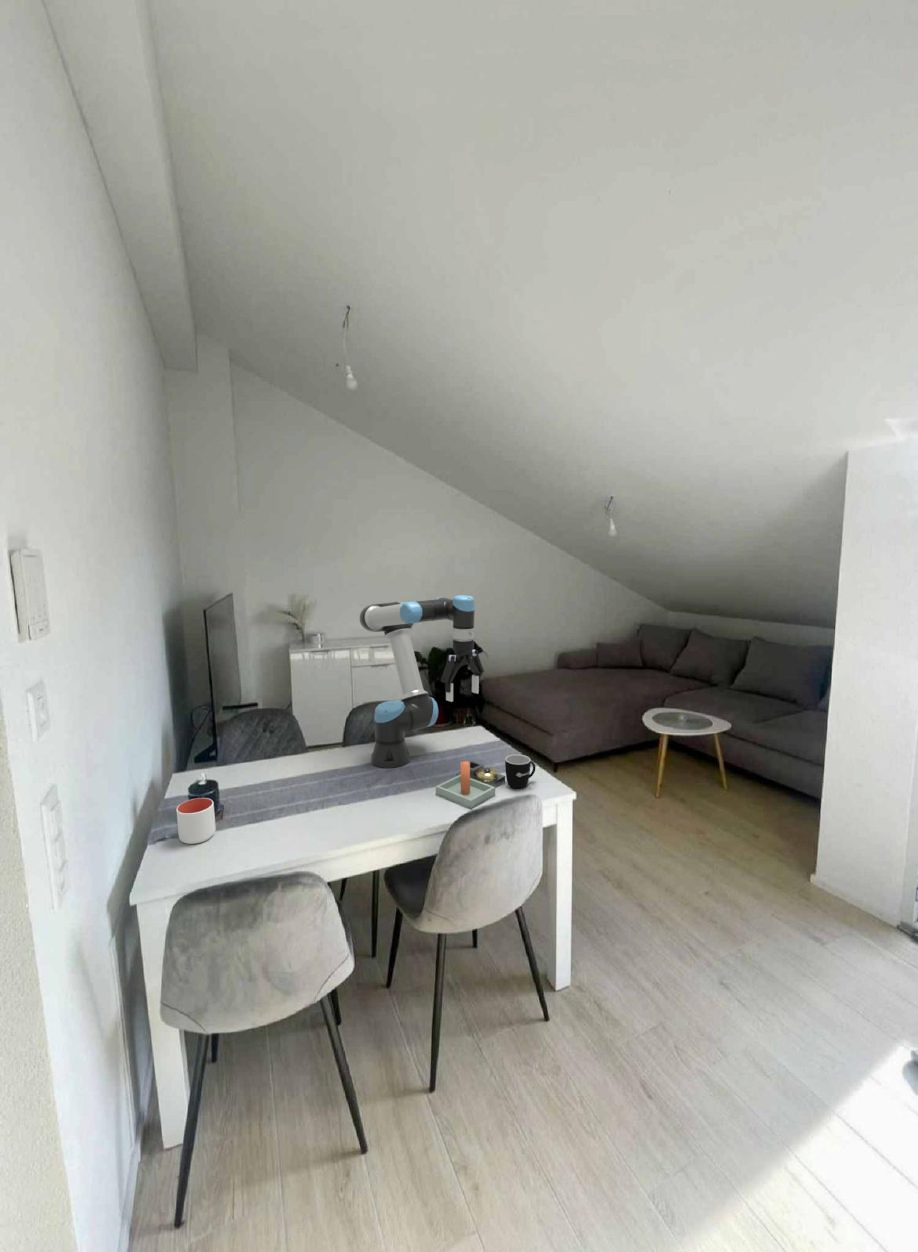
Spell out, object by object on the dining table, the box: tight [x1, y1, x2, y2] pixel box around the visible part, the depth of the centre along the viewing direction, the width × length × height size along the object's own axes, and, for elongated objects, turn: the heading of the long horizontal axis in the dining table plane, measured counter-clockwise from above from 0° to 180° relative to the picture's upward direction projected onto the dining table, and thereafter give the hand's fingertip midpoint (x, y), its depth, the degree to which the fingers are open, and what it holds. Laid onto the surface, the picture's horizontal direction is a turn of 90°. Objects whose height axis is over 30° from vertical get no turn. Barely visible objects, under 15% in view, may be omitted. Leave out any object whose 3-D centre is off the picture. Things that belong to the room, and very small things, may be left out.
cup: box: [175, 797, 217, 845], centre depth 166 cm, size 10×10×10 cm
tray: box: [435, 774, 496, 810], centre depth 193 cm, size 16×13×3 cm
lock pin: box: [460, 760, 470, 795], centre depth 192 cm, size 3×3×11 cm
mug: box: [504, 753, 536, 791], centre depth 200 cm, size 12×9×10 cm
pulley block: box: [455, 760, 506, 789], centre depth 203 cm, size 15×10×6 cm, turn 49°
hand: (462, 696), depth 202 cm, fingers open, 13 cm apart
